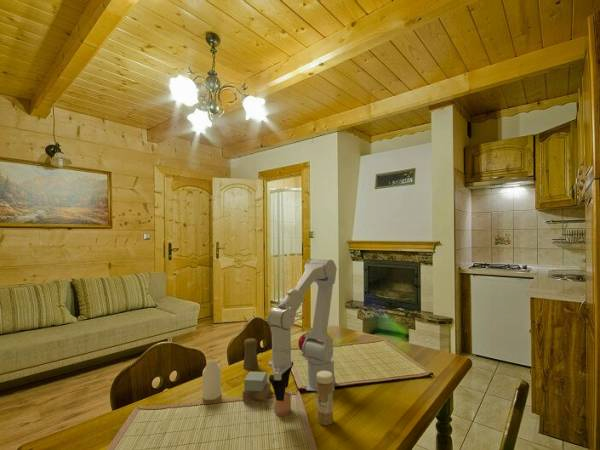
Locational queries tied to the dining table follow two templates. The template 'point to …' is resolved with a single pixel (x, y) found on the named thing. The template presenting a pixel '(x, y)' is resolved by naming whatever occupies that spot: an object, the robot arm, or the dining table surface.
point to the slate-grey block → (255, 381)
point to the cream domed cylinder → (211, 381)
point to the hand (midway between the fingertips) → (282, 393)
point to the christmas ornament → (302, 340)
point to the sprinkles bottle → (325, 397)
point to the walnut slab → (257, 394)
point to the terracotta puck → (283, 405)
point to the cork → (250, 354)
